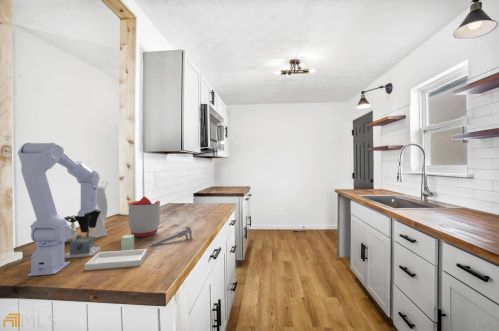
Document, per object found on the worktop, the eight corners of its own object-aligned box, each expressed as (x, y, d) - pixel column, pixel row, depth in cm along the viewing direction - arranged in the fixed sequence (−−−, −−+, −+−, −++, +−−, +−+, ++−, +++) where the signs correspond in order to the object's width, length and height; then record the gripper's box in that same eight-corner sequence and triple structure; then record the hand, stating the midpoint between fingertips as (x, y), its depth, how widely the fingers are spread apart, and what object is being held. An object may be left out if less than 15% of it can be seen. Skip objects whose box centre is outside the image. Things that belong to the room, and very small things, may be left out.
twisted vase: (102, 233, 128) (102, 181, 128) (111, 235, 124) (111, 182, 125) (85, 237, 121) (85, 182, 121) (94, 239, 117) (94, 183, 117)
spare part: (131, 251, 100) (131, 237, 100) (121, 252, 99) (121, 238, 99) (134, 248, 104) (134, 234, 104) (124, 249, 103) (124, 235, 103)
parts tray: (140, 265, 86) (140, 260, 86) (84, 270, 82) (84, 264, 82) (147, 253, 98) (147, 248, 98) (98, 257, 94) (98, 252, 94)
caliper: (190, 237, 120) (190, 225, 120) (191, 238, 119) (191, 225, 119) (148, 246, 107) (148, 232, 107) (149, 247, 106) (149, 233, 106)
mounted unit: (92, 255, 95) (92, 242, 95) (64, 258, 93) (64, 244, 93) (100, 249, 103) (100, 236, 103) (74, 250, 101) (74, 237, 101)
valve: (72, 244, 109) (72, 218, 109) (60, 243, 111) (60, 217, 111) (84, 240, 116) (84, 215, 116) (73, 239, 117) (73, 215, 117)
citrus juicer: (168, 230, 133) (168, 194, 133) (147, 239, 116) (147, 198, 116) (144, 228, 137) (144, 193, 137) (120, 237, 120) (120, 197, 120)
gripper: (91, 200, 97) (91, 233, 97) (105, 196, 111) (105, 225, 111) (71, 201, 95) (71, 234, 95) (88, 196, 109) (88, 226, 109)
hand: (88, 229), depth 103 cm, fingers open, 7 cm apart
